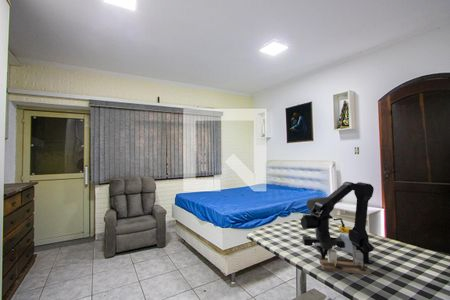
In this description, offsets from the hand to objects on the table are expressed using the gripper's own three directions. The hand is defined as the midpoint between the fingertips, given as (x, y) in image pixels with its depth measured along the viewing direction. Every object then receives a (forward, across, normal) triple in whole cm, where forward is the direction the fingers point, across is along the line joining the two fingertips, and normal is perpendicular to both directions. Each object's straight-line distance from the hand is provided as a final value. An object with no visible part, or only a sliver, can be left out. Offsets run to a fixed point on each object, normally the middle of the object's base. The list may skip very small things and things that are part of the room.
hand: (323, 258), depth 107 cm
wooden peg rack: (+3, +9, -2) cm, 9 cm away
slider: (+1, +4, -1) cm, 5 cm away
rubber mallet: (+3, +2, +16) cm, 16 cm away
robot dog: (+3, +22, +32) cm, 38 cm away
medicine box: (+3, +18, +18) cm, 25 cm away
